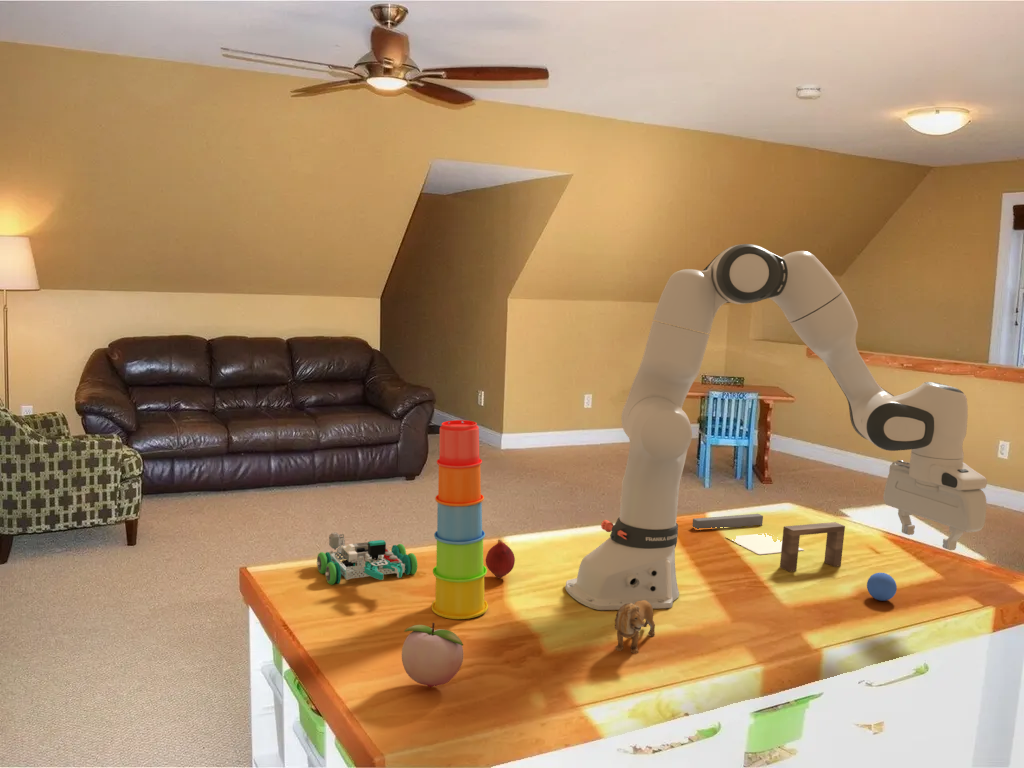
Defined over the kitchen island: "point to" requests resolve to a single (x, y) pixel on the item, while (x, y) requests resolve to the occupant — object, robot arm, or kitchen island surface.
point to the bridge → (793, 533)
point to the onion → (500, 559)
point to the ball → (881, 586)
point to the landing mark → (760, 544)
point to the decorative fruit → (431, 655)
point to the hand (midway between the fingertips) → (927, 541)
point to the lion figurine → (633, 622)
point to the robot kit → (364, 560)
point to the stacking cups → (459, 524)
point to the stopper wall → (728, 521)
